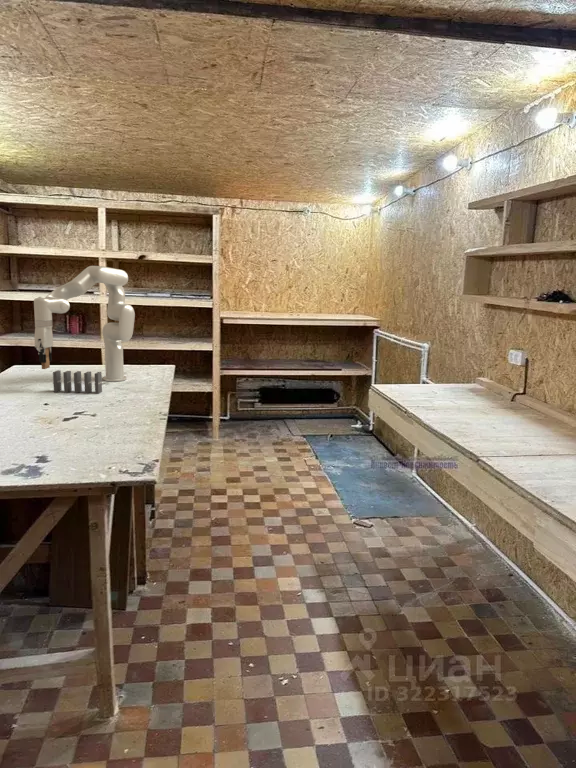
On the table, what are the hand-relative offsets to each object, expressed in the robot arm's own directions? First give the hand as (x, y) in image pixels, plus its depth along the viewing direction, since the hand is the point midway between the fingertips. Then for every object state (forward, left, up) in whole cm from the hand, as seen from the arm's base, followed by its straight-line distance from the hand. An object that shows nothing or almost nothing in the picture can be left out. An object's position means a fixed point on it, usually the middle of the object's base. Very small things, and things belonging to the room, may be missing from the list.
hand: (45, 361), depth 248 cm
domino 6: (0, +25, -15) cm, 29 cm away
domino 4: (0, +15, -15) cm, 21 cm away
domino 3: (0, +10, -15) cm, 18 cm away
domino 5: (0, +20, -15) cm, 25 cm away
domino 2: (0, +5, -15) cm, 16 cm away
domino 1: (0, 0, -3) cm, 3 cm away
